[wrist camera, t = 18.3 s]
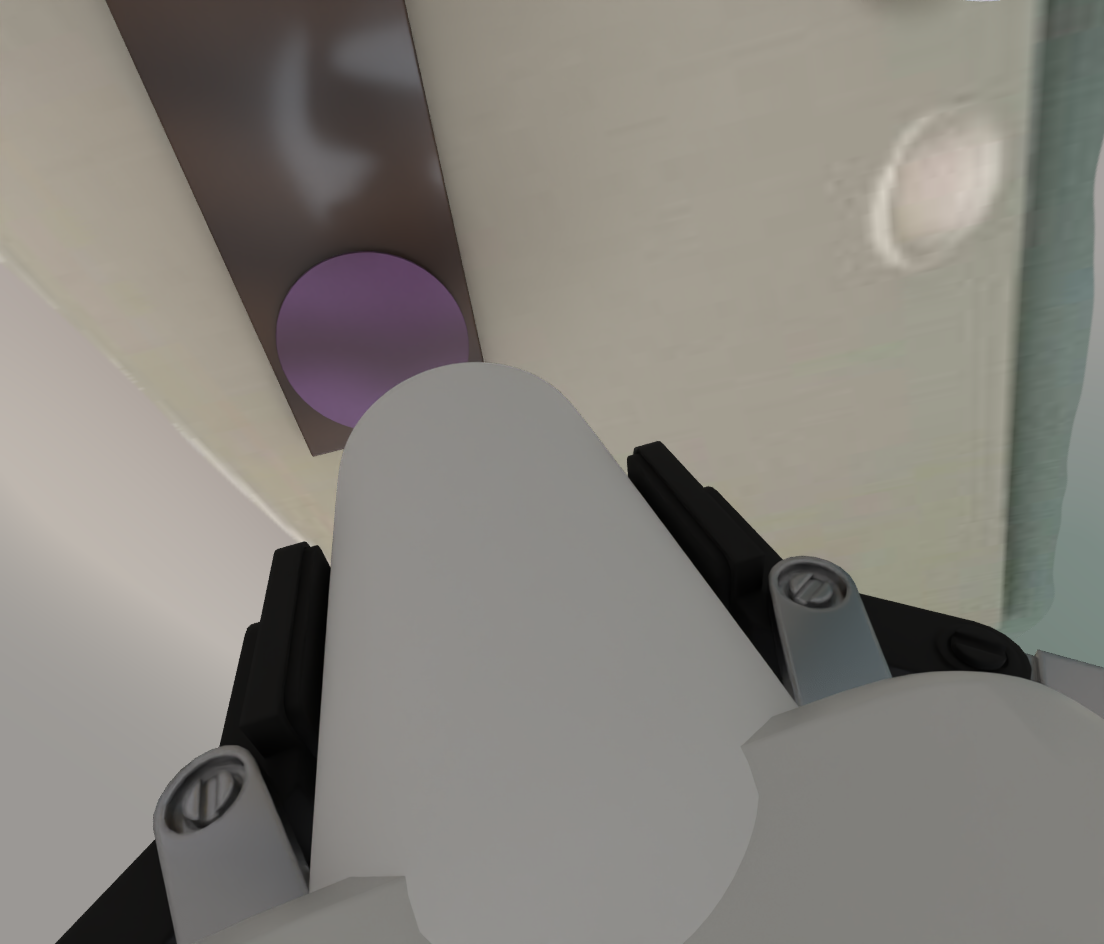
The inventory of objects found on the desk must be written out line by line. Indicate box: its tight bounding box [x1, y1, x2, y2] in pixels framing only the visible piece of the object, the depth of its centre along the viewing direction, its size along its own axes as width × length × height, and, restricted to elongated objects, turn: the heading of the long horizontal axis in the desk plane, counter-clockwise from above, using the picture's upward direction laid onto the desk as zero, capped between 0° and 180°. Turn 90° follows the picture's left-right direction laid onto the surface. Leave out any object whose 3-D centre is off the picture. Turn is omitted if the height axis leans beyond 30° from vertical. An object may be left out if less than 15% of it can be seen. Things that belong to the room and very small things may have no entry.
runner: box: [106, 0, 484, 456], centre depth 22 cm, size 32×10×1 cm, turn 8°
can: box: [309, 362, 798, 944], centre depth 10 cm, size 6×6×12 cm
